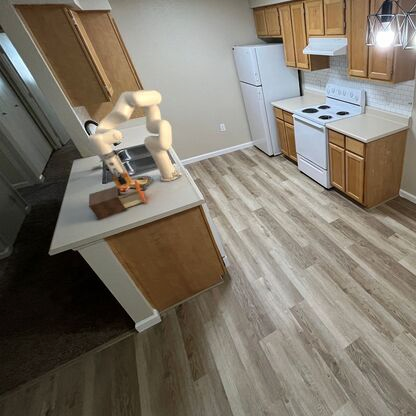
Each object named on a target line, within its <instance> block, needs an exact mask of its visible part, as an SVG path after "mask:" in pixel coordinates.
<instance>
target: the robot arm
mask: <svg viewBox="0 0 416 416" xmlns="http://www.w3.org/2000/svg"><path fill="white" fill-rule="evenodd" d="M162 99H163V98H162V95H161V93H160V92H159V91H157V90H154V89H138V90H136V91H124V92H121V94H120V95H119V98H118V99H117V101H116V103H115V105H114V107H113V109H112V110H111V112H109V113H108V114H107V115H105V116H104V117H103V118H102V119H101V120H100V121H99V123H98V125H97V127H96V128H95V131H94V133H93V134H90V135H88V136H87V140H88V142H89V144H90V145H91V147H92V149H93V150H94V152H95V153H96V155H97V156H98V157H99V159H100V161H104V163H105V165H106V166H107V168H108V169H109V171H110V172H111V174H112V175H113V176H116V177H117V179H118V181H119V182H120V184H121V185H123V184H126V183H127V182H126V180H125V179H124V177H123V176H122V175H121V174H122V173H123V170H122V167H121V166H120V164H119V163H118V161H117V159H116V158H115V156H116V155H115V153H114V152H113V147H111V145H112V144H116V143H119V142H121V141H122V140H123V134H122V133H121V131H120V130H117V129H115V128H116V127H117V126H118V125H120V124H121V125H122V124H124V123H125V122H127V121H129V120H130V118H131V116H132V114H133V112H134V110H135V108H136V107H137V108H140V107H141V108H143V109H144V113H145V128H146V131H147V132H148V133H150V134H155V135H147V136H146V137H145V138H144V141H143V143H144V146H145V148H146V149H147V151H148V152H149V153H150V156H151V157H152V159H153V161H154V162H155V165H156V167H157V169H158V171H159V173H160V176H161V177H160V181H162V182H171V181H174V180H176V179H178V178H179V177H180V176H182V172H181V171H180V170H179V171H178V170H177V169H175V167H174V166H173V162H172V161H171V157H169V156H170V155H169V154H168V152H169V151H170V150H171V149H172V146H173V133H172V131H173V130H172V129H173V128H172V126H171V124H170V123H169V121H168V120H166V119H162V115H161V110H160V108H159V106H158V105H160V103H161V102H162ZM120 175H121V176H120Z"/></svg>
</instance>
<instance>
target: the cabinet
mask: <svg viewBox="0 0 416 416" xmlns="http://www.w3.org/2000/svg"><path fill="white" fill-rule="evenodd" d="M114 186H115V185H114ZM114 186H112V187H109V188H105V189H102V190H99V191H96V192H92V193H89V194H88V208H89V209H90V210H91V211H92V213H93V214H94V216H95V217H96V218H97V220H99V221H100V220H102V219H103V220H104V219H105V218H108V217H112V216H114V215H117V214H121V213H123V212H125V211H127V208H125V207H124V205H123V204H122V202H121V201H120V199H119V198H118V196H121V195H123V194H121V193H120V191H119V190H118V188H117V186H115V187H114Z"/></svg>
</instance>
